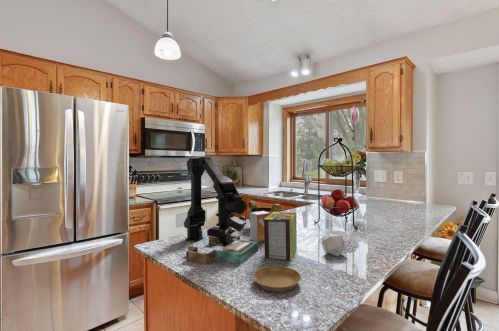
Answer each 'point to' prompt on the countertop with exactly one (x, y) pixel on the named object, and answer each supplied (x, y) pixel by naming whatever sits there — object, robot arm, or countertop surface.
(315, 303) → the countertop surface
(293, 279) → the plant saucer
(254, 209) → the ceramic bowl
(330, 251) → the white faceted lump
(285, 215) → the protein box
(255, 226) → the small box
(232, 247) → the cream block
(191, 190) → the robot arm
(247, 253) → the box
